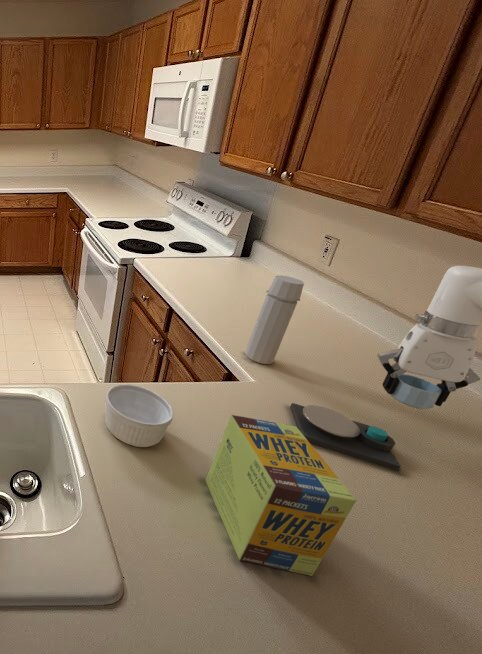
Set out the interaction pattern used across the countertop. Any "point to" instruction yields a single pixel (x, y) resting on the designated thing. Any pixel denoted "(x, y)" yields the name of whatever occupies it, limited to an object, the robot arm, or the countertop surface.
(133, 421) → the ramekin
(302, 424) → the scale
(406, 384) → the bowl
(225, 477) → the protein box
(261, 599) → the countertop surface
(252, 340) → the water bottle
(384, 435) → the tare button
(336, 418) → the scale plate
